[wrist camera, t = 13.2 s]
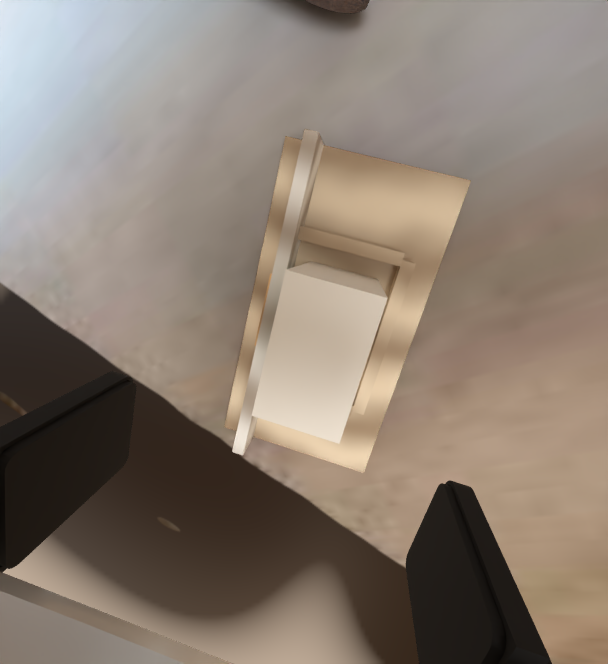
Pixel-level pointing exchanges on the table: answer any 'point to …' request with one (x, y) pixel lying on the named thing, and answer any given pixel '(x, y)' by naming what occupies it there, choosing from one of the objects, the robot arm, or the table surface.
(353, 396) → the carton
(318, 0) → the perforated stone tool
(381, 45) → the table surface
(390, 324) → the beige compartment tray
